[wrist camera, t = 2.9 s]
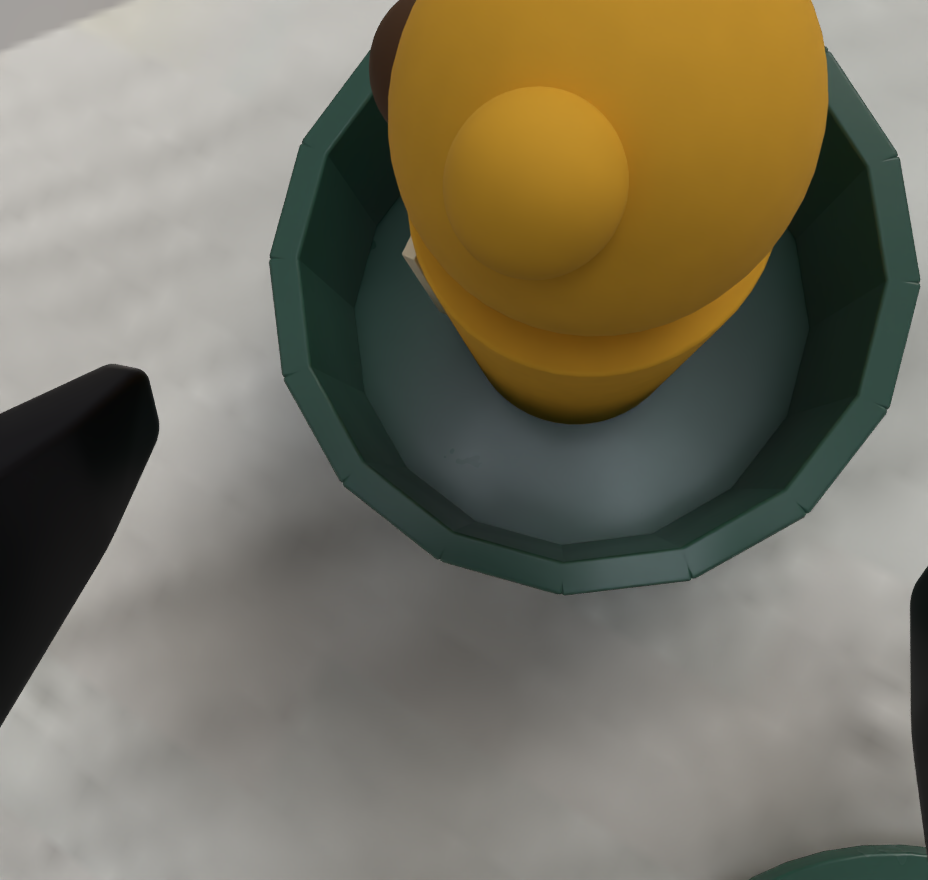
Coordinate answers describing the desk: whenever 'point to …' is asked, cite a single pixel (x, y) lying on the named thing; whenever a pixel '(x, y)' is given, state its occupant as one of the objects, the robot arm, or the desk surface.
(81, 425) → the robot arm
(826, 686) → the desk surface
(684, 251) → the toy
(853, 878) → the pot lid
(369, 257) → the pot
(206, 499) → the desk surface
